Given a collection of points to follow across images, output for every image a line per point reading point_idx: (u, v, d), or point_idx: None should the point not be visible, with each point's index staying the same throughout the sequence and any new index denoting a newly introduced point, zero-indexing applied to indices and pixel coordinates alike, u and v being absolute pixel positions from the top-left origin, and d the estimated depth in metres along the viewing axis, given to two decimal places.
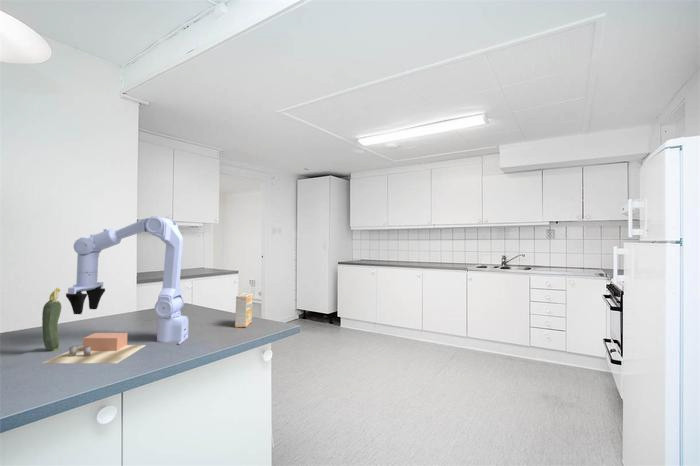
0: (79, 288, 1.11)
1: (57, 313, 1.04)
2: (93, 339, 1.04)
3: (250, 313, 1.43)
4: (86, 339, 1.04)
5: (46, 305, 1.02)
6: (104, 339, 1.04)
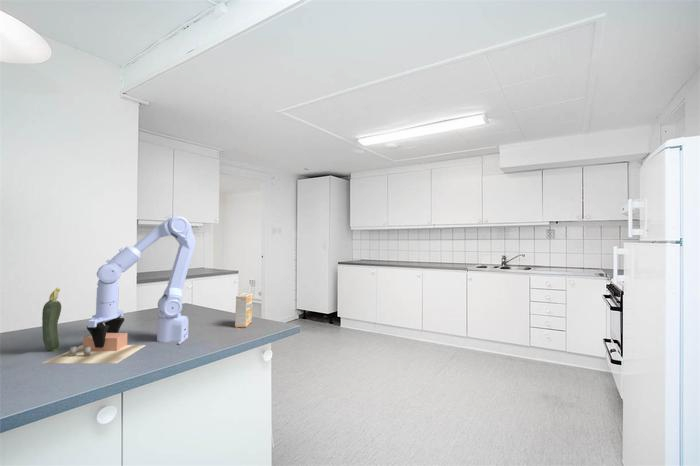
0: (100, 321, 1.02)
1: (57, 313, 1.04)
2: None
3: (250, 313, 1.43)
4: (86, 339, 1.04)
5: (46, 305, 1.02)
6: None
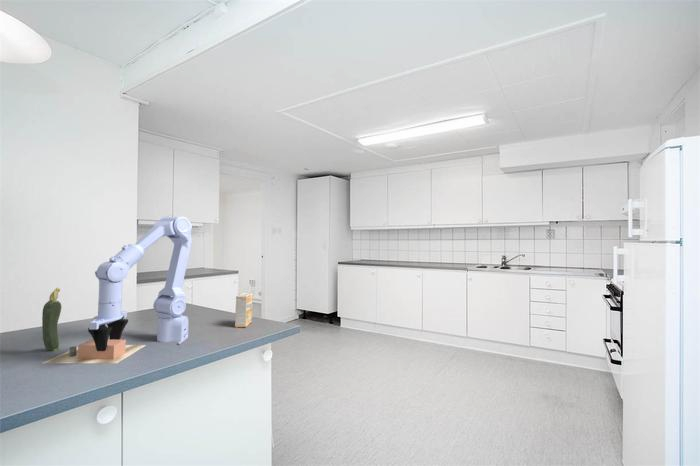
0: (102, 322, 0.95)
1: (57, 313, 1.04)
2: (89, 346, 0.97)
3: (250, 313, 1.43)
4: (81, 346, 0.97)
5: (46, 305, 1.02)
6: None
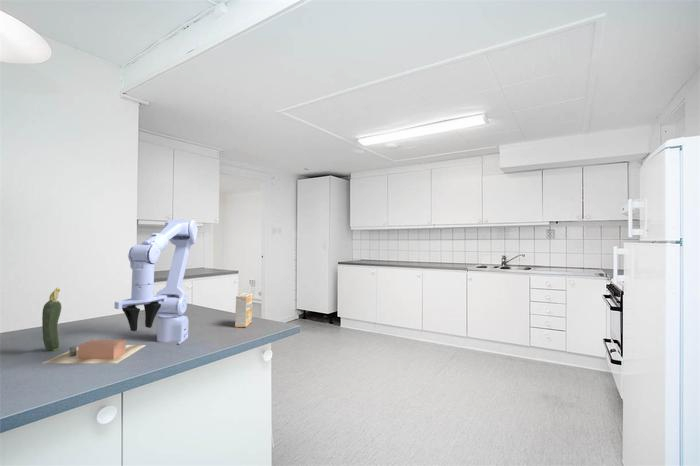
0: (126, 303, 0.96)
1: (57, 313, 1.04)
2: (89, 346, 0.97)
3: (250, 313, 1.43)
4: (81, 346, 0.97)
5: (46, 305, 1.02)
6: (100, 346, 0.98)
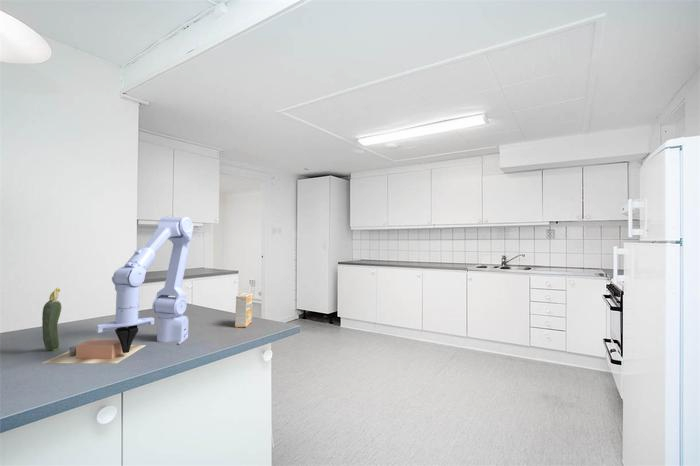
0: (106, 327, 0.96)
1: (57, 313, 1.04)
2: (87, 346, 0.97)
3: (250, 313, 1.43)
4: (80, 346, 0.97)
5: (46, 305, 1.02)
6: (99, 346, 0.98)
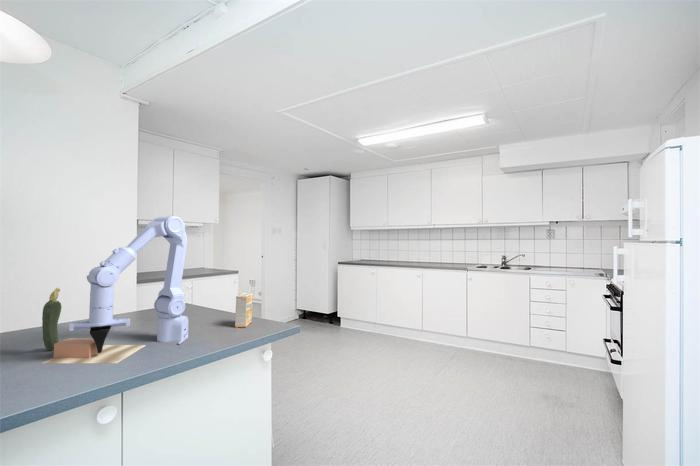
0: (77, 325, 0.97)
1: (57, 313, 1.04)
2: (64, 345, 0.98)
3: (250, 313, 1.43)
4: (57, 345, 0.98)
5: (46, 305, 1.02)
6: (76, 345, 0.98)
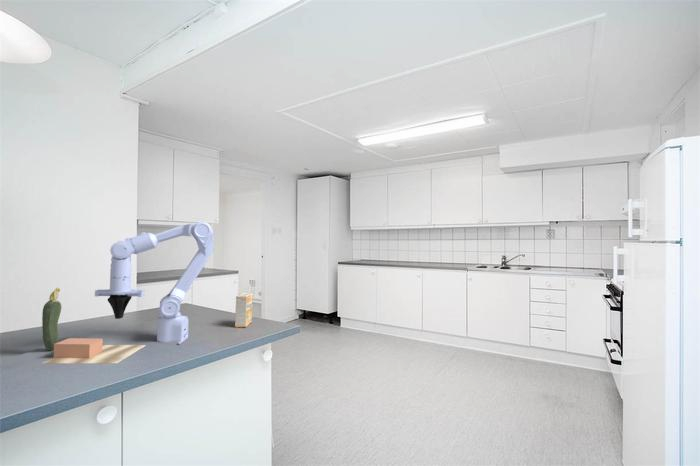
0: (100, 292, 1.10)
1: (57, 313, 1.04)
2: (64, 345, 0.98)
3: (250, 313, 1.43)
4: (57, 345, 0.98)
5: (46, 305, 1.02)
6: (76, 345, 0.98)
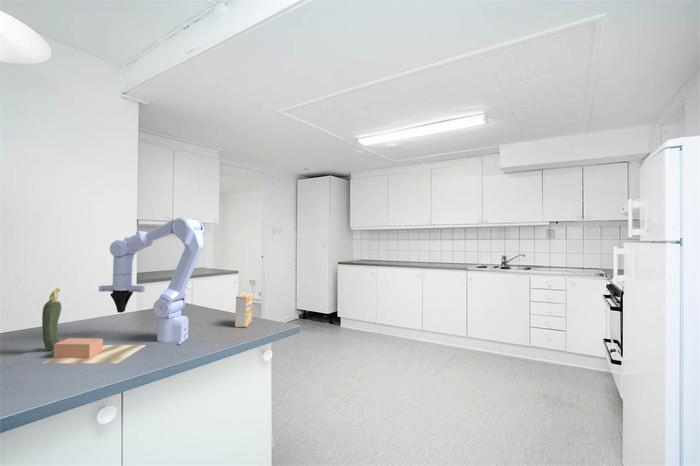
0: (104, 287, 1.18)
1: (57, 313, 1.04)
2: (64, 345, 0.98)
3: (250, 313, 1.43)
4: (57, 345, 0.98)
5: (46, 305, 1.02)
6: (76, 345, 0.98)
